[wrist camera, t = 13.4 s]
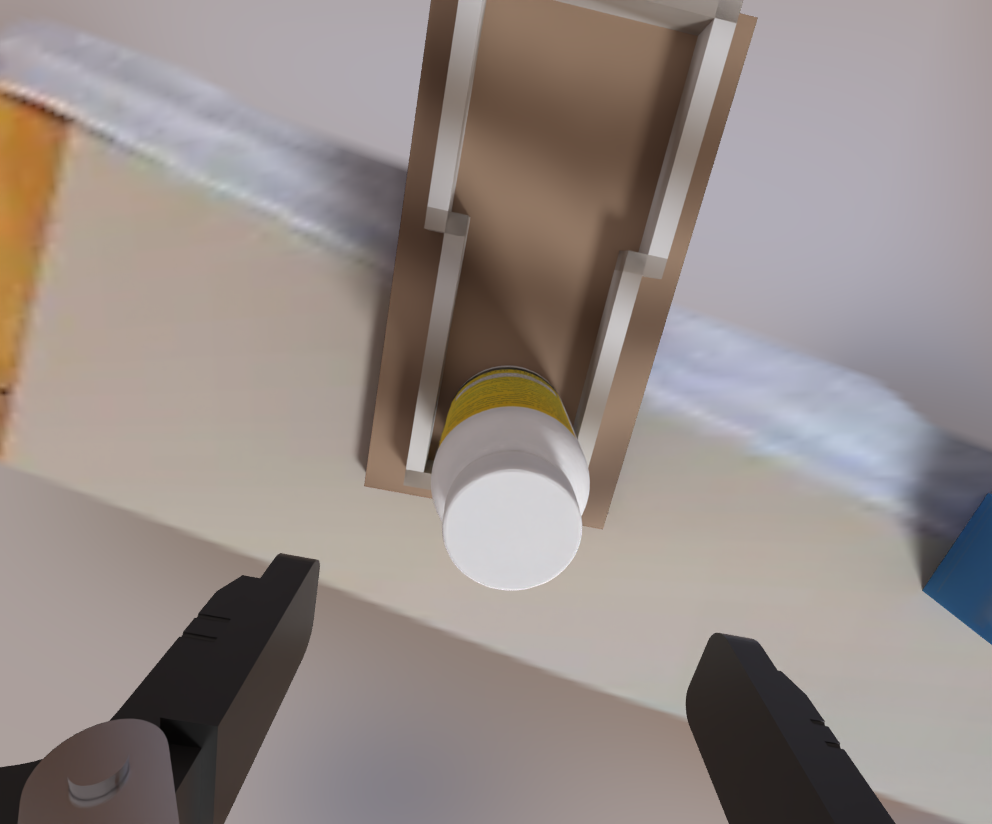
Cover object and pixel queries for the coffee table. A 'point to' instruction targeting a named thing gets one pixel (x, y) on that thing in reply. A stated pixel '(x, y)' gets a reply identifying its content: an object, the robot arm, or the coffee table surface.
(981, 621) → the perfume bottle
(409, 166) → the brown rectangular tray
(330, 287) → the coffee table surface
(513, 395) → the supplement bottle
